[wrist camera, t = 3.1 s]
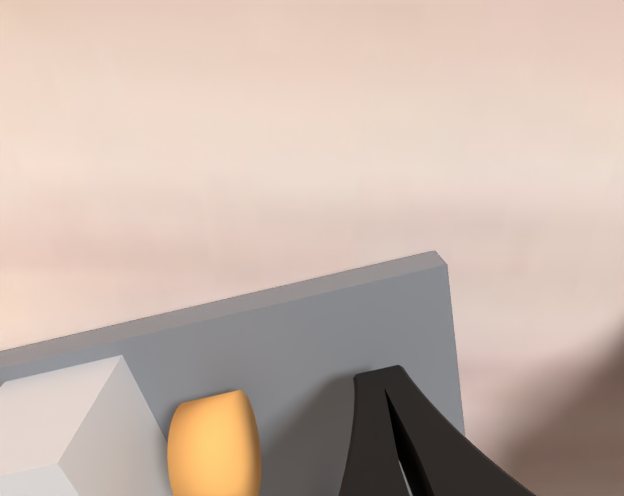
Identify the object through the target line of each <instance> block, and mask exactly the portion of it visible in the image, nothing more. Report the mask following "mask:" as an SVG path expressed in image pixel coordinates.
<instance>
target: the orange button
mask: <svg viewBox="0 0 624 496" xmlns="http://www.w3.org/2000/svg"><path fill="white" fill-rule="evenodd" d="M167 459H168V472H169V479H170V484H171V489H172V492H173V495H174V496H258V495H259V491H260V485H261V450H260V441H259V434H258V428H257V423H256V419H255V415H254V412H253V409H252V406H251V403H250V401H249V399H248V397H247V395H246V394H245V393H244V392H243V391H242V390H237V391H233V392H228V393H224V394H219V395H215V396H210V397H206V398H202V399H197V400H193V401H188V402H184V403H182V404H180V405H179V406H178V408H177V409H176V411H175V413H174V415H173V418H172V421H171V425H170V429H169V436H168V448H167Z"/></svg>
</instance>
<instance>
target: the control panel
mask: <svg viewBox="0 0 624 496" xmlns="http://www.w3.org/2000/svg"><path fill="white" fill-rule="evenodd" d="M395 365H400V366H402V367H403V368H404V369H405V371H406V372H407V374H408V375H409V376H410V378H411V379H412V380H413V382H414V383H415V384H416V385H417V387H418V388H419V389H420V390H421V391H422V393H423V394H424V395H425V396H426V397H427V399H428V400H429V401H430V402H431V403H432V404H433V405H434V406H435V407H436V408H437V409H438V410H439V412H440V413H441V414H442V415H443V416H444V417H445V418H446V419H447V420H448V421H449V422H450V423H451V424H452V425H453V426H454V427H455V428H456V429H457V430H458V431H459V432H460V433H461V434H462V435H463V436H464V437H465V430H464V421H463V411H462V402H461V392H460V382H459V373H458V363H457V354H456V344H455V334H454V325H453V315H452V306H451V296H450V286H449V277H448V267H447V264H446V262H445V261H444V260H443V259H442V258H441V257H440V256H439V255H438V253H437V252H436V251H431V252H426V253H422V254H418V255H413V256H409V257H405V258H401V259H396V260H392V261H388V262H383V263H379V264H375V265H370V266H366V267H362V268H357V269H353V270H349V271H345V272H340V273H336V274H332V275H327V276H323V277H319V278H314V279H310V280H306V281H302V282H297V283H293V284H289V285H284V286H280V287H276V288H271V289H267V290H263V291H258V292H254V293H250V294H246V295H241V296H237V297H233V298H228V299H224V300H220V301H215V302H211V303H207V304H202V305H198V306H194V307H190V308H185V309H181V310H177V311H172V312H168V313H164V314H159V315H155V316H151V317H147V318H142V319H138V320H134V321H129V322H125V323H121V324H116V325H112V326H108V327H103V328H99V329H95V330H91V331H86V332H82V333H78V334H73V335H69V336H65V337H60V338H56V339H52V340H48V341H43V342H39V343H35V344H30V345H26V346H22V347H17V348H13V349H9V350H4V351H0V496H174V495H173V492H172V489H171V484H170V479H169V472H168V459H167V448H168V436H169V429H170V425H171V421H172V418H173V415H174V413H175V411H176V409H177V408H178V406H179V405H180V404H182V403H184V402H188V401H193V400H197V399H202V398H206V397H210V396H215V395H219V394H224V393H228V392H233V391H237V390H242V391H243V392H244V393H245V394H246V395H247V397H248V399H249V401H250V403H251V406H252V409H253V412H254V415H255V419H256V423H257V428H258V434H259V441H260V450H261V485H260V491H259V495H258V496H338V495H339V491H340V487H341V483H342V479H343V475H344V471H345V466H346V461H347V455H348V450H349V445H350V439H351V431H352V423H353V415H354V381H353V378H354V376H355V375H356V374H359V373H363V372H368V371H372V370H377V369H381V368H386V367H390V366H395ZM399 463H400V461H399ZM400 467H401V464H400ZM401 470H402V473H403V476H404V479H405V482H406V486H407V489H408V492H409V495H410V496H413V495H412V493H411V490H410V487H409V485H408V482H407V480H406V477H405V474H404V472H403V469H402V467H401Z"/></svg>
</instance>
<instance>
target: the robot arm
mask: <svg viewBox="0 0 624 496" xmlns="http://www.w3.org/2000/svg"><path fill="white" fill-rule="evenodd" d="M353 381H354V415H353V423H352V431H351V439H350V445H349V450H348V455H347V461H346V466H345V471H344V475H343V479H342V483H341V487H340V491H339V495H338V496H410V495H409V492H408V489H407V486H406V482H405V479H404V476H403V473H402V470H401V467H402V469H403V472H404V474H405V477H406V480H407V482H408V485H409V487H410V490H411V493H412V495H413V496H536V495H535V494H533V493H532V492H530V491H529V490H528V489H526V488H525V487H524V486H523V485H521V484H520V483H519V482H517V481H516V480H515V479H514V478H512V477H511V476H510V475H508V474H507V473H506V472H505V471H503V470H502V469H501V468H500V467H499V466H497V465H496V464H495V463H494V462H492V461H491V460H490V459H489V458H488V457H487V456H485V455H484V454H483V453H482V452H481V451H480V450H479V449H477V448H476V447H475V446H474V445H473V444H472V443H471V442H470V441H469V440H468V439H467V438H466V437H464V436H463V435H462V434H461V433H460V432H459V431H458V430H457V429H456V428H455V427H454V426H453V425H452V424H451V423H450V422H449V421H448V420H447V419H446V418H445V417H444V416H443V415H442V414H441V413H440V412H439V410H438V409H437V408H436V407H435V406H434V405H433V404H432V403H431V402H430V401H429V400H428V399H427V397H426V396H425V395H424V394H423V393H422V391H421V390H420V389H419V388H418V387H417V385H416V384H415V383H414V382H413V380H412V379H411V378H410V376H409V375H408V374H407V372H406V371H405V369H404V368H403V367H402V366H400V365H395V366H390V367H386V368H381V369H377V370H372V371H368V372H363V373H359V374H356V375H355V376H354V378H353ZM399 461H400V463H399ZM400 464H401V467H400Z"/></svg>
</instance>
